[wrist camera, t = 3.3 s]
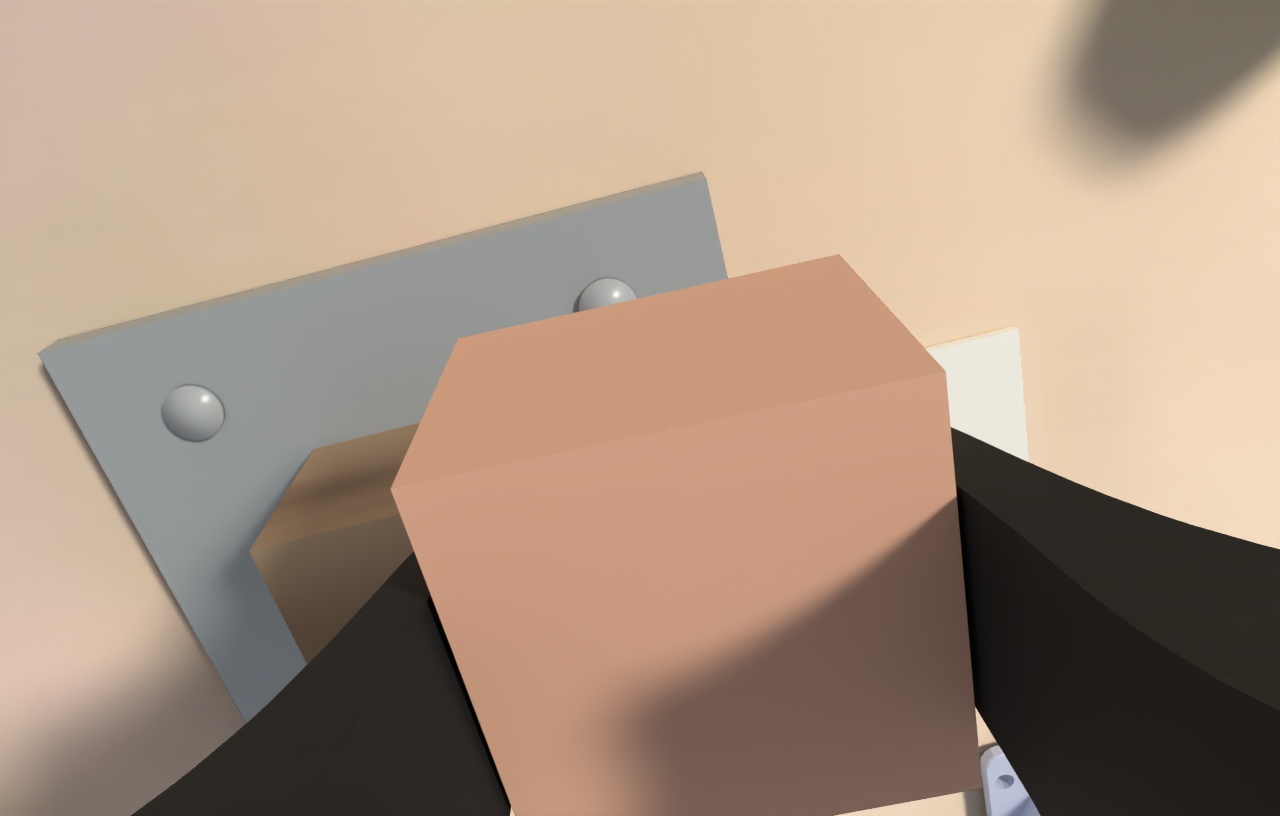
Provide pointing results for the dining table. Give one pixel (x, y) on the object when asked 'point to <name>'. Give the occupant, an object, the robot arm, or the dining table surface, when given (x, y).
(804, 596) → the terracotta block
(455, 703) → the robot arm
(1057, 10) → the dining table surface
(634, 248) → the build plate
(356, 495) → the walnut block
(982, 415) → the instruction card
